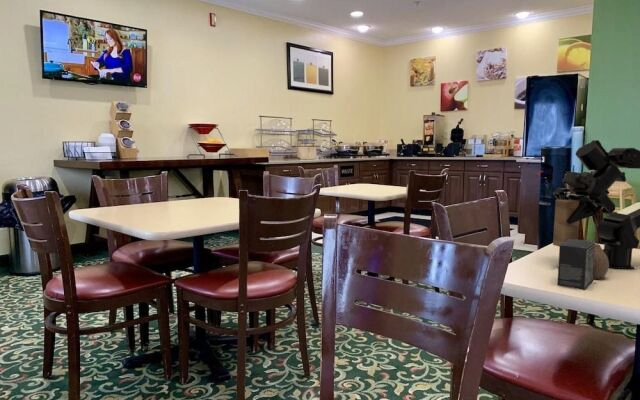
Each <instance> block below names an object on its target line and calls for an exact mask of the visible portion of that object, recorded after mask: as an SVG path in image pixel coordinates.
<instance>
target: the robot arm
mask: <svg viewBox="0 0 640 400" xmlns="http://www.w3.org/2000/svg"><path fill="white" fill-rule="evenodd" d="M575 156H576V157H577V159H579V161H580V162H581V163H582V165H583V166H584V168H586V169H587V171H582V172H576V171H566V173H565V175H564V178H562V183H563V184H566V185H569V186H571V190H572V191H571V190H570V189H569V188H564V187H556V189H554V190H553V192H552V195H553V196H554V197H555V199H556V200H575V201H579V206H578V207H577V208H576V210H575V211H574V212H573V213H572V215H571V216H570V217H569V219H568V220H567V222H568V224H571V223H574V222H576V221H579V222H580V221H581V220H584V219H587V218H590V217H593V216H596V215H597V216H599V215H600V214H601V213H602V214H604V215H605V214H606V215H607V216H606V217H605V216H604V217H602V218H601V219H602V220H600V221H598V223H597V228H596V233H597V235H598V238H599V241H600V242H599V243H601V244H604V245H603V248H602V250H603V251H604V253H605V254H606V255H607V257H608V261H609V268H611V269H624V270H625V269H626V270H627V269H629V270H630V269H633V270H634V269H635V266H633V265H632V255H633V249H637V248H638V247H639V244H640V240H639V239H638V237H637V236H636V233H637V230H639V229H640V208H638V209H636V210H633V211H632V212H630V213H627V214H624V213H620V212H615V210H616V204H615V202H614V201H613V200H612V199H611V197H609V194H610V193H611V192H610V191H609V189H610V188H611V187H612V186H613V185H614V184H615V182H619V183H620V182H621V183H625V182H626V181H627V178H626V172H625V171H621V170H620V169H637V170H640V150H639V149H637V148H635V147H613V148H612V149H610V150H609V151H608V152H607V150H606V149H605V148H604V147H603V145H602V143H601V142H600V140H598V139H597V140H591V141H590V142H589V143H586V144H585V145H583V146H580V147H579V148H578V149H577V150H576V151H575ZM589 171H594V172H593V173H592V172H589ZM573 192H575V193H573ZM600 210H601V213H600Z"/></svg>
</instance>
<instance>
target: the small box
mask: <svg viewBox="0 0 640 400" xmlns="http://www.w3.org/2000/svg"><path fill="white" fill-rule="evenodd" d="M595 244H596V241H595V240H585V239H578V240H575V239H568V240H567V241H565V242H564V243H562V244H561V245H560V247H559V249H558V250H559V251H558V266H557V267H558V269H557V270H558V271H557V286H558V287H559V286H560V287H566V288H571V289H577V290H582V291H585V290H586V289H587V288H588V287H590V284H592V282H593V281H594V279H593V263H594V248H595Z"/></svg>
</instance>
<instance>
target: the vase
mask: <svg viewBox="0 0 640 400" xmlns="http://www.w3.org/2000/svg"><path fill="white" fill-rule="evenodd" d="M609 268H610V267H609V261H608V257H607V255H606V254H605V253H604V251H603V248H602V247H601V244H598V243H595V248H594V263H593V280H600V279H603V278H604V277H605V276H606V275H607V274H608V271H609Z"/></svg>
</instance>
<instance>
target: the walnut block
mask: <svg viewBox="0 0 640 400" xmlns="http://www.w3.org/2000/svg"><path fill="white" fill-rule="evenodd" d="M578 206H579V201H575V200H558V199H555V203H554V219H553V220H554V222H553V238H552V239H553V240H552V245H553V246H555V247H559V248H560V245H561V244H562V243H564V242H565V241H567V240H568V239H575V240H579V232H580V231H579V230H580V220H579V221H576V222H574V223H571V224H568V222H567V220H568V219H569V217H570V216H571V215H572V213H573V212H574V211H575V210H576V208H577V207H578Z"/></svg>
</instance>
